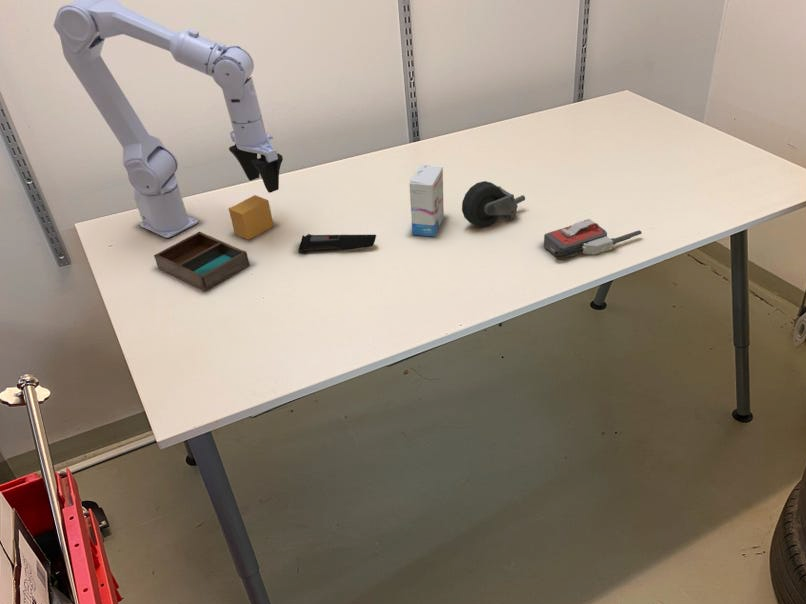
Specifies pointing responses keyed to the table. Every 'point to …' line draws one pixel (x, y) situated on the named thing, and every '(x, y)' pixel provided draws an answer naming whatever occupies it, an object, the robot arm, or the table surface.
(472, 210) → the caster wheel
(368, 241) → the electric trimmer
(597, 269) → the table surface
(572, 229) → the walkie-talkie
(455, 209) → the table surface
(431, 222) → the ink box
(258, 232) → the carton
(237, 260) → the organizer
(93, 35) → the robot arm
